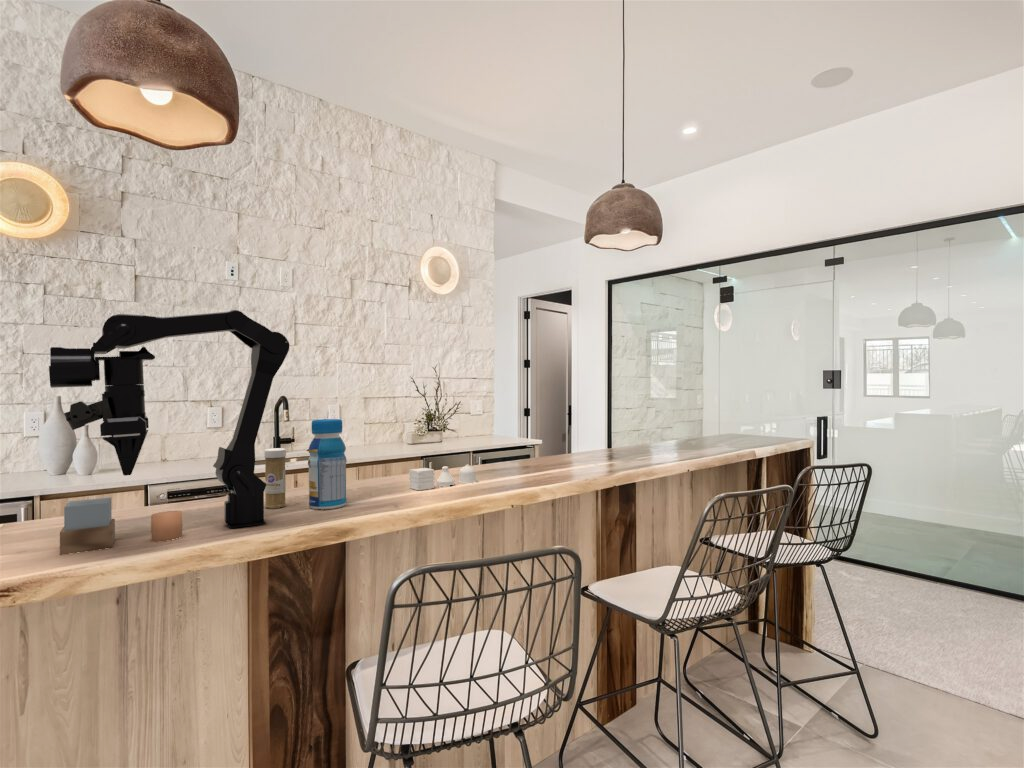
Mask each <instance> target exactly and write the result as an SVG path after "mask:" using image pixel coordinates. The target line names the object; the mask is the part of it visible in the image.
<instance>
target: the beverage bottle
mask: <svg viewBox="0 0 1024 768" xmlns="http://www.w3.org/2000/svg"><path fill="white" fill-rule="evenodd" d="M340 434H341V435H342V434H343V420H342V419H340V418H325V419H324V418H323V419H313V420H311V435H313V436H314V437H313V439H312V440H311V442H310V444H309V446H308V449H307V450H308V453H309V457H308V459H307V465H308V498H309V499H308V506H309V508H311V509H312V510H317V509H321V511H324V509H325V511H326V510H334V509H340V508H342V507H344V506H346V504H347V462H348V460H347V456H346V455H345V454H346V453H345V452H346V449H347V448H346V447H347V446H346V445H345V442H344V440H343V439H342V438H341V436H340Z"/></svg>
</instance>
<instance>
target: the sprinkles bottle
mask: <svg viewBox="0 0 1024 768" xmlns="http://www.w3.org/2000/svg"><path fill="white" fill-rule="evenodd" d="M286 457H287V449H286V448H283V447H277V448H276V447H273V448H266V449H265V450H264V459H265V462H264V464H265V466H264V467H265V469H264V471H265V472H264V475H265V476H264V478H265V479H264V482H265V483H266V487H265V490H264V493H265V498H264V500H265V501H264V508H266V509H273V508H274V509H281V508H283V507H285V506H286V505H287V503H286V490H287V489H286ZM280 507H281V508H280Z"/></svg>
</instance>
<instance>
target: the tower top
mask: <svg viewBox="0 0 1024 768" xmlns="http://www.w3.org/2000/svg"><path fill="white" fill-rule="evenodd" d="M63 509H64V511H63V513H64V514H63V516H64V517H63V518H64V519H63V523H64V524H63V525H64V526H63V527H64V531H70V530H78V529H87V528H95V527H104V526H109V525H110V522H111V519H113V518H112V515H113V514H112V497H110V496H109V497H100V498H99V497H98V498H87V499H79V500H69V501H68V502H67V503H66V505H64V508H63Z"/></svg>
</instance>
